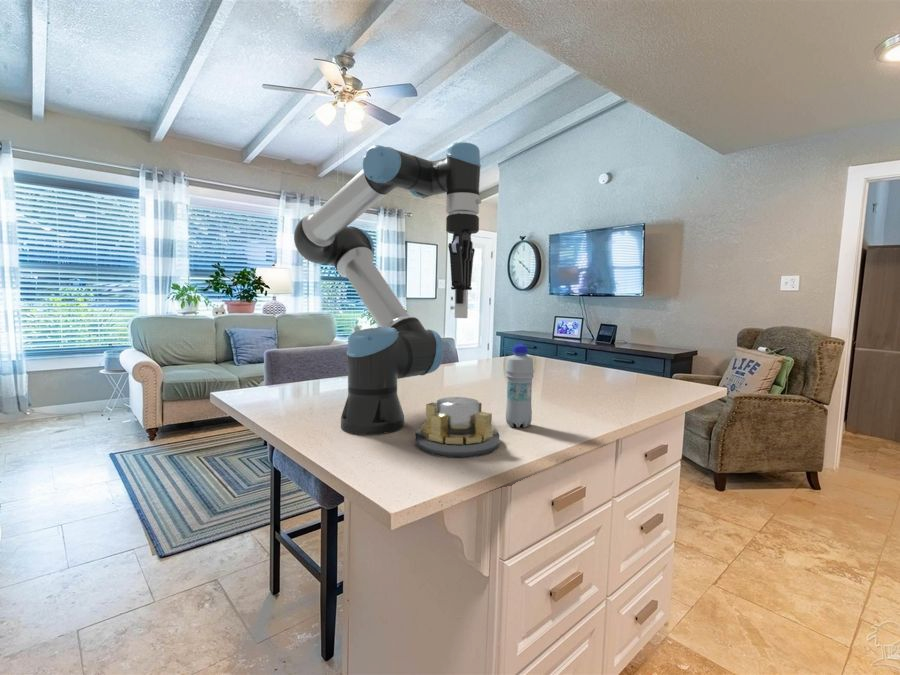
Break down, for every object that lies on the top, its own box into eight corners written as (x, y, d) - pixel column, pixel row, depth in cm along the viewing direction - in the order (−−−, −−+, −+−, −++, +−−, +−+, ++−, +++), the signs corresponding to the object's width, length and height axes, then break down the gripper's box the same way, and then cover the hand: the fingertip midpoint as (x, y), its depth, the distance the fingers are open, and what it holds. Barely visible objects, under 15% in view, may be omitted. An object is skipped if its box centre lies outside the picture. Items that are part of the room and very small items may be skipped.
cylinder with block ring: (467, 449, 87) (467, 422, 86) (406, 434, 96) (406, 410, 95) (506, 430, 99) (507, 407, 99) (449, 418, 108) (449, 397, 108)
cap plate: (401, 451, 92) (401, 407, 91) (433, 427, 109) (433, 390, 108) (487, 462, 86) (488, 416, 85) (507, 435, 103) (507, 396, 102)
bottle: (531, 430, 107) (534, 346, 106) (503, 428, 109) (505, 345, 107) (532, 422, 114) (534, 343, 112) (505, 420, 115) (507, 342, 114)
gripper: (470, 209, 97) (468, 319, 99) (485, 219, 109) (483, 317, 111) (437, 210, 99) (436, 318, 101) (456, 220, 112) (454, 316, 114)
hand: (461, 317), depth 106 cm, fingers closed
